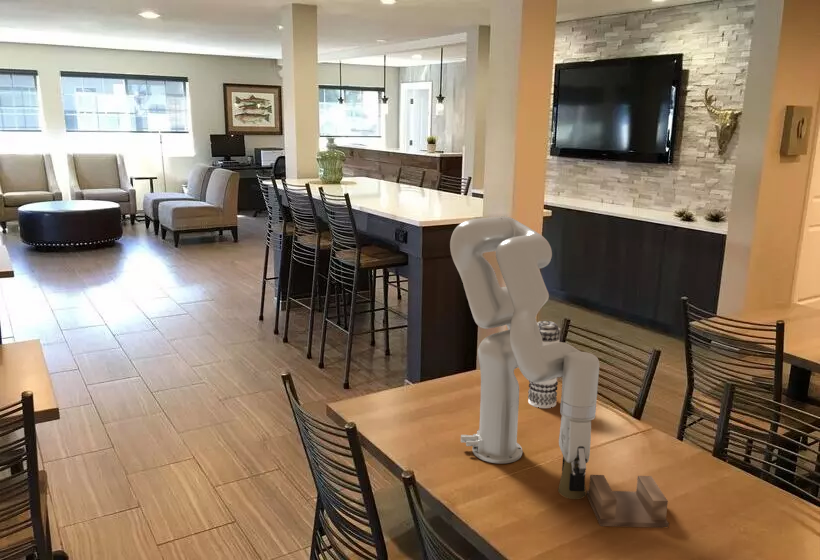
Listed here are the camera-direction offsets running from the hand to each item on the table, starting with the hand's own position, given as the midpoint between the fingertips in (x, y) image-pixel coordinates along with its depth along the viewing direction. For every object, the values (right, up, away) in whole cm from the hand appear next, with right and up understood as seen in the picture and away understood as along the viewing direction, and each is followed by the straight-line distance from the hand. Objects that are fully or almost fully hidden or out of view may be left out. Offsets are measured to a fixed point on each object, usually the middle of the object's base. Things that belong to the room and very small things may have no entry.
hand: (572, 480), depth 147 cm
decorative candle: (+3, +8, +49) cm, 50 cm away
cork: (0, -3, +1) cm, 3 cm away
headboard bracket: (+10, -4, -6) cm, 13 cm away
